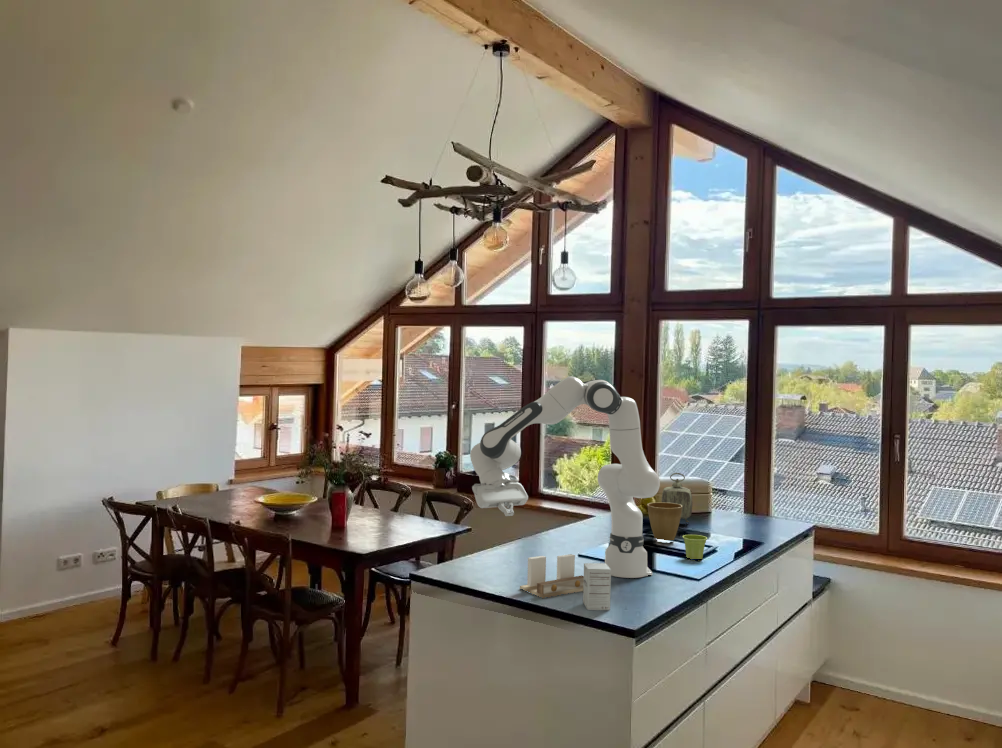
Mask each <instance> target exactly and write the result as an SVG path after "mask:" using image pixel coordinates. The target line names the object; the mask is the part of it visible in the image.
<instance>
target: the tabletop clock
mask: <svg viewBox="0 0 1002 748" xmlns="http://www.w3.org/2000/svg"><path fill="white" fill-rule="evenodd" d="M674 475H680V476H682V477H683V479H680V480H679V478H676V479H673V478H672V476H674ZM669 479H670V480H671V481H673V483H672V486H666V487H664V488H663V490H662V494H661V502H665V503H676V504H680V505H682V512H681V518H680V519H684V520H685V523H686V522H689V523H690V521H689V520H688V518H690V517H691V515H692V512H693V496H692V492H691V489H690V488H688V487H684V486H683V485H682V483H681V482H684V481H685V479H686V476H685V475H684V474H683V473H681V472H674V473H672V474H671V475H670V477H669Z"/></svg>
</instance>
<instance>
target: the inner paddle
mask: <svg viewBox="0 0 1002 748" xmlns="http://www.w3.org/2000/svg"><path fill="white" fill-rule="evenodd" d="M575 558H576V555H575V554H572V553H570V554H563V555H558V556H556V559H557V560H556V580H558V579H564V578H570V577H575V568H576V567H575V565H576V564H575V562H576V560H575Z"/></svg>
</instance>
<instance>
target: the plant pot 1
mask: <svg viewBox="0 0 1002 748" xmlns="http://www.w3.org/2000/svg"><path fill="white" fill-rule="evenodd" d="M646 506H647V512H648V513H647V514H648V517H649V523H650V527H651V531H652V533H653V537H654V539H655V538H657V539H664V540H675V538H676V536H677V533H678V529H679V526H680V521H681V519H682V518H681V512H682V505H680V504H676V503H665V502H662V501H661V502H657V501H656V502H649V503H647V505H646Z"/></svg>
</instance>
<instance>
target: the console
mask: <svg viewBox="0 0 1002 748" xmlns="http://www.w3.org/2000/svg"><path fill="white" fill-rule="evenodd" d="M583 582H584V575H577V576H575V575H574V577H570V578H564V579H558V580H557V579H552V580H545V582H540V583H537V586H532V587H531V586H528V585H527V584H523V585H519V590H520V589H523V590H525V591H528V592H530V593H532V594H531V595H533V594H535V595H537V596H536V597H538V596H539V597H538V598H540V597H542V598H541V599H546V598H545V597H548V598H552V597H551V596H553V597H558V596H557V595H559V596H562V595H561V594H564V595H569V594H573V593H574V592H575V593H579V592H583ZM525 591H524V592H525ZM530 593H529V594H530ZM568 593H569V594H568ZM535 595H534V596H535Z"/></svg>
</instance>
